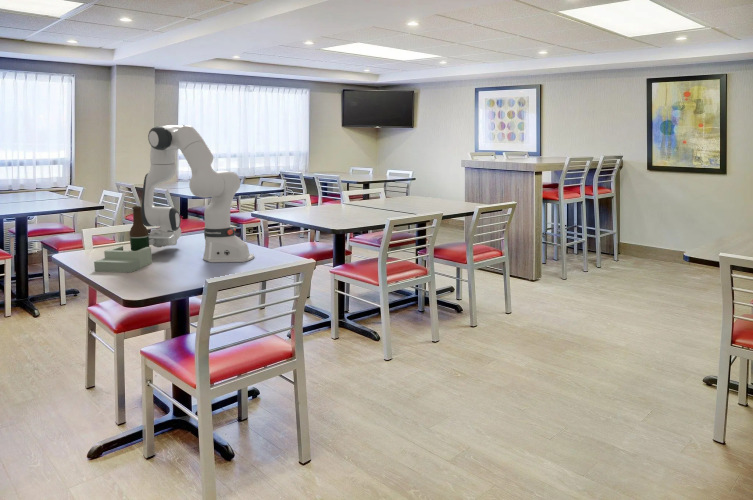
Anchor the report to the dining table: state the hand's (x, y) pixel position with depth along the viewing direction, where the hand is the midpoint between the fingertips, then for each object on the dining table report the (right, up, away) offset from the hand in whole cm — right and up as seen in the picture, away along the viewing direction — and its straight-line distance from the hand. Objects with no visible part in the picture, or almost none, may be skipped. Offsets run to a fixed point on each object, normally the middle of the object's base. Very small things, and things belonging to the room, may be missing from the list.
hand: (144, 243), depth 270 cm
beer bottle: (-1, -8, -2) cm, 8 cm away
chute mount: (-2, -10, -15) cm, 19 cm away
